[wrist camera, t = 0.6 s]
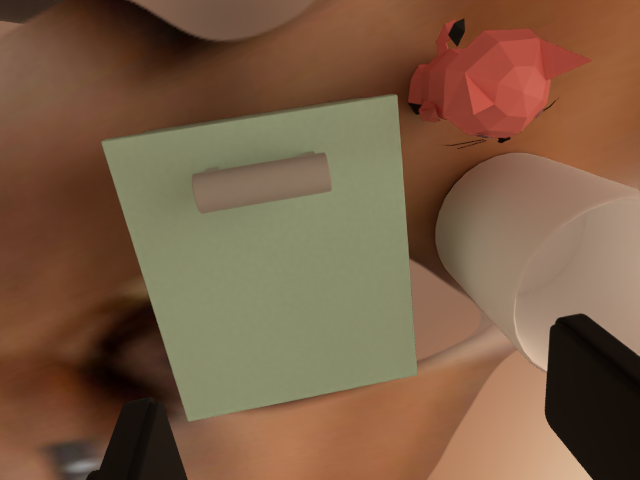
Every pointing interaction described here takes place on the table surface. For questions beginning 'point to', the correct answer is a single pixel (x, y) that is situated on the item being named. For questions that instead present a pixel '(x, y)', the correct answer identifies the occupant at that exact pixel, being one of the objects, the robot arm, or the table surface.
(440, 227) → the cup
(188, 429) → the table surface
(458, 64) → the pink faceted figure
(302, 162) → the lid
